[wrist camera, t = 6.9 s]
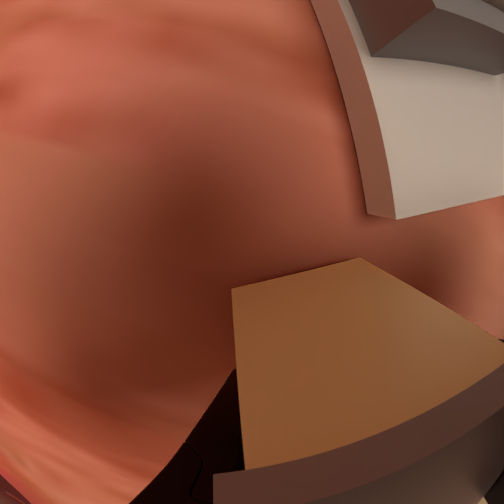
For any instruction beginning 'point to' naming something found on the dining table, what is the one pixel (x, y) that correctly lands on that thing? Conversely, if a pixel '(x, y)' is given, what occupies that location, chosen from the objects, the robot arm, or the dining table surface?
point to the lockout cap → (362, 394)
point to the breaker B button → (496, 4)
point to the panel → (421, 99)
